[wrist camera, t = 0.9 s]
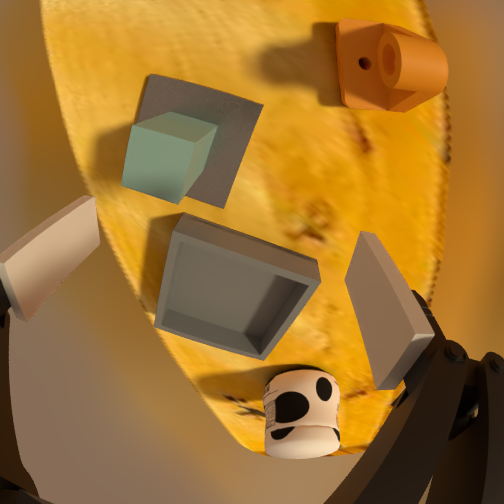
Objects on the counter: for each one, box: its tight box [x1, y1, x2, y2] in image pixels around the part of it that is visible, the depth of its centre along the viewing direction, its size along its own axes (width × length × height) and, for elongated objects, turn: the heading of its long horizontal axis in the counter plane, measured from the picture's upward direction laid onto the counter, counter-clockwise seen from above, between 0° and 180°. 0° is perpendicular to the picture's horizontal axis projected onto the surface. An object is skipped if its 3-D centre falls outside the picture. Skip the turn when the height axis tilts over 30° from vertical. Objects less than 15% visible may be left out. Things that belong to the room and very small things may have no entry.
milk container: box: [263, 368, 340, 459], centre depth 52 cm, size 17×17×18 cm
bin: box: [154, 212, 321, 361], centre depth 42 cm, size 20×20×5 cm
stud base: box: [137, 74, 263, 209], centre depth 29 cm, size 14×14×6 cm
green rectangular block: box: [121, 112, 218, 205], centre depth 27 cm, size 6×6×10 cm
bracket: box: [335, 19, 448, 113], centre depth 20 cm, size 11×7×12 cm, turn 6°
